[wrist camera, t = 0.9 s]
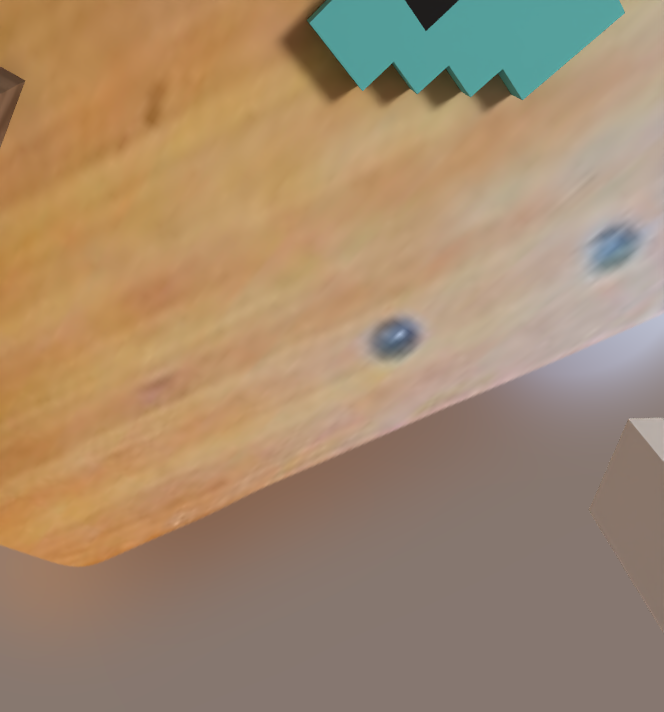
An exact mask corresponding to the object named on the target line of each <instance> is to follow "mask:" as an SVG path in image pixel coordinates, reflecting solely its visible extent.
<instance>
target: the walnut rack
mask: <svg viewBox="0 0 664 712" xmlns="http://www.w3.org/2000/svg"><path fill="white" fill-rule="evenodd" d="M24 82H25V80H23V79H21V78H19V77H18V76H16V75H14V74H12V73H11V72H9V71H7V70H5V69H4V68H2V67H0V147H1V144H2V141H3V139H4V136H5V133H6V131H7V128H8V125H9V122H10V120H11V117H12V114H13V112H14V109H15V106H16V104H17V101H18V98H19V96H20V93H21V90H22V88H23V85H24Z"/></svg>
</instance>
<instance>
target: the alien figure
mask: <svg viewBox="0 0 664 712" xmlns="http://www.w3.org/2000/svg"><path fill="white" fill-rule="evenodd" d="M624 13H625V12H624V10H623V8H622V5H621V3H620V1H619V0H326V1H325V2H324V3H323V4H322V5H321V6H320V7H319V8H318V9H317V10H316V11H315V12H314V13H313V14H312V15H311V16H310V17H309V18H308V19H307V21H308V23H309V24H310V25H311V26H312V28H313V29H314V30H315V31H316V33H317V34H318V35H319V37H320V38H321V39H322V40H323V42H324V43H325V44H326V46H327V47H328V48H329V49H330V51H331V52H332V53H333V54H334V56H335V57H336V58H337V60H338V61H339V62H340V63H341V65H342V66H343V67H344V69H345V70H346V71H347V72H348V74H349V75H350V76H351V78H352V79H353V80H354V81H355V83H356V84H357V85H358V86H359V88H360V89H361V90H362V91H363V90H364V89H365V88H366V87H368V86H369V85H370V84H371V83H372V82H373V81H374V80H375V79H376V78H377V77H378V76H379V75H380V74H381V73H382V72H383V71H384V70H386V69H387V68H388V67H389V66H390V65H391V64H393V66H394V67H395V68H396V70H397V71H398V73H399V74H400V75H401V77H402V78H403V79H404V81H405V82H406V83H407V85H408V86H409V88H410V89H411V90H413V91H414V92H415V93H416V94H418V93H419V92H420V91H421V90H422V89H424V88H425V87H426V86H427V85H428V84H429V83H430V82H431V81H432V80H433V79H435V78H436V77H437V76H438V75H439V74H440V73H441V72H442V71H443V70H444V69H446V70H447V71H448V73H449V74H450V76H451V77H452V78H453V80H454V81H455V83H456V84H457V86H458V87H459V89H460V90H461V92H463V93H465V94H466V95H468V96H469V97H471V96H473V95H474V94H475V93H476V92H477V91H478V90H479V89H480V88H482V87H483V86H484V85H485V84H486V83H487V82H488V81H490V80H491V79H492V78H493V77H494V76H495V75H496V74H499V76H500V77H501V79H502V80H503V82H504V84H505V85H506V87H507V88H508V90H509V91H510V93H511V95H513V96H515V97H517V98H519V99H521V100H523V99H524V98H526V97H527V96H528V95H529V94H530V93H532V92H533V91H534V90H535V89H536V88H537V87H539V86H540V85H541V84H542V83H543V82H544V81H546V80H547V79H548V78H549V77H550V76H551V75H553V74H554V73H555V72H556V71H557V70H559V69H560V68H561V67H562V66H563V65H564V64H566V63H567V62H568V61H569V60H570V59H571V58H573V57H574V56H575V55H576V54H577V53H578V52H580V51H581V50H582V49H583V48H584V47H586V46H587V45H588V44H589V43H590V42H591V41H593V40H594V39H595V38H596V37H597V36H598V35H600V34H601V33H602V32H603V31H604V30H605V29H607V28H608V27H609V26H610V25H611V24H613V23H614V22H615V21H616V20H617V19H618V18H620V17H621V16H622V15H623V14H624Z"/></svg>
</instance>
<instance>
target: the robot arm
mask: <svg viewBox="0 0 664 712" xmlns="http://www.w3.org/2000/svg"><path fill="white" fill-rule="evenodd" d="M589 511H590V513H591V515H592V516H593V518H594V520H595V521H596V523H597V524H598V526H599V528H600V530H601V531H602V533H603V534H604V536H605V538H606V539H607V541H608V543H609V544H610V546H611V548H612V549H613V551H614V553H615V554H616V556H617V557H618V559H619V561H620V562H621V564H622V566H623V567H624V569H625V571H626V572H627V574H628V576H629V577H630V579H631V580H632V582H633V584H634V585H635V587H636V589H637V590H638V592H639V594H640V595H641V597H642V598H643V600H644V602H645V603H646V605H647V607H648V608H649V610H650V612H651V613H652V615H653V617H654V618H655V620H656V621H657V623H658V625H659V626H660V628H661V630H662V631H663V633H664V419H663V418H636V419H628V421H627V423H626V425H625V428H624V430H623V432H622V435H621V437H620V439H619V442H618V444H617V446H616V449H615V451H614V453H613V455H612V458H611V460H610V462H609V465H608V467H607V469H606V472H605V474H604V476H603V479H602V481H601V483H600V486H599V488H598V490H597V493H596V495H595V497H594V499H593V502H592V504H591V506H590V508H589Z"/></svg>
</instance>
